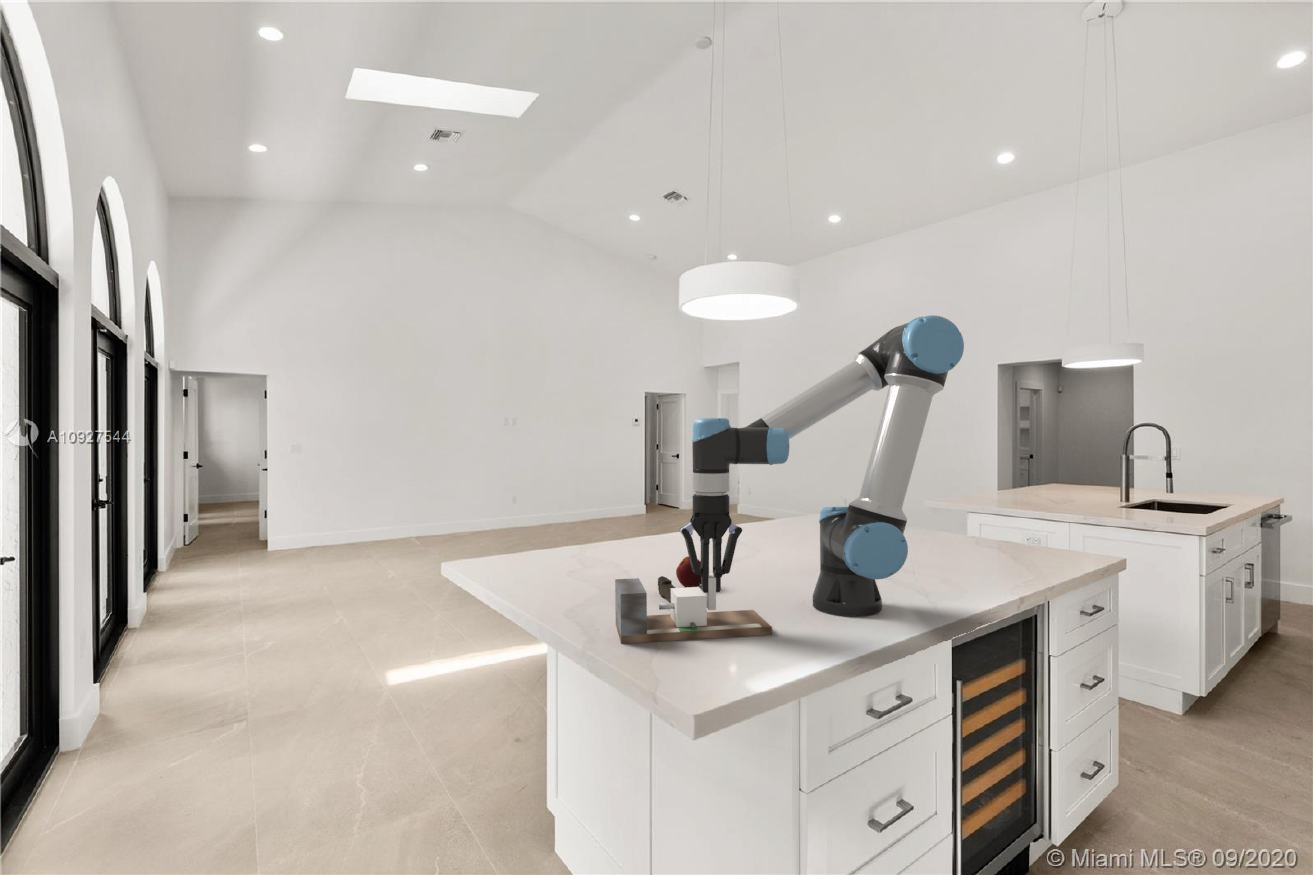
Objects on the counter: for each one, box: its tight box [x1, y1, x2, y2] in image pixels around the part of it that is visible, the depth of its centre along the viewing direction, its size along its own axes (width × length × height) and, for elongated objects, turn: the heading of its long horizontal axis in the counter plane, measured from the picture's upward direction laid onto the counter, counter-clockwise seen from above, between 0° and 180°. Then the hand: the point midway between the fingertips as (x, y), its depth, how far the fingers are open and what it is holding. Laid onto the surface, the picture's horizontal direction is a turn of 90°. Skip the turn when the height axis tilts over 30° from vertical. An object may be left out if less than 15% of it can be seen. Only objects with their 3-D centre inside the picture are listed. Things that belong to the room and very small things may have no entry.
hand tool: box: [657, 575, 677, 603], centre depth 149 cm, size 19×4×5 cm, turn 16°
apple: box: [675, 555, 701, 588], centre depth 161 cm, size 7×8×8 cm
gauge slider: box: [658, 586, 708, 629], centre depth 126 cm, size 9×10×6 cm
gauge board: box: [614, 577, 773, 645], centre depth 128 cm, size 30×12×10 cm, turn 99°
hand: (710, 607), depth 129 cm, fingers closed
